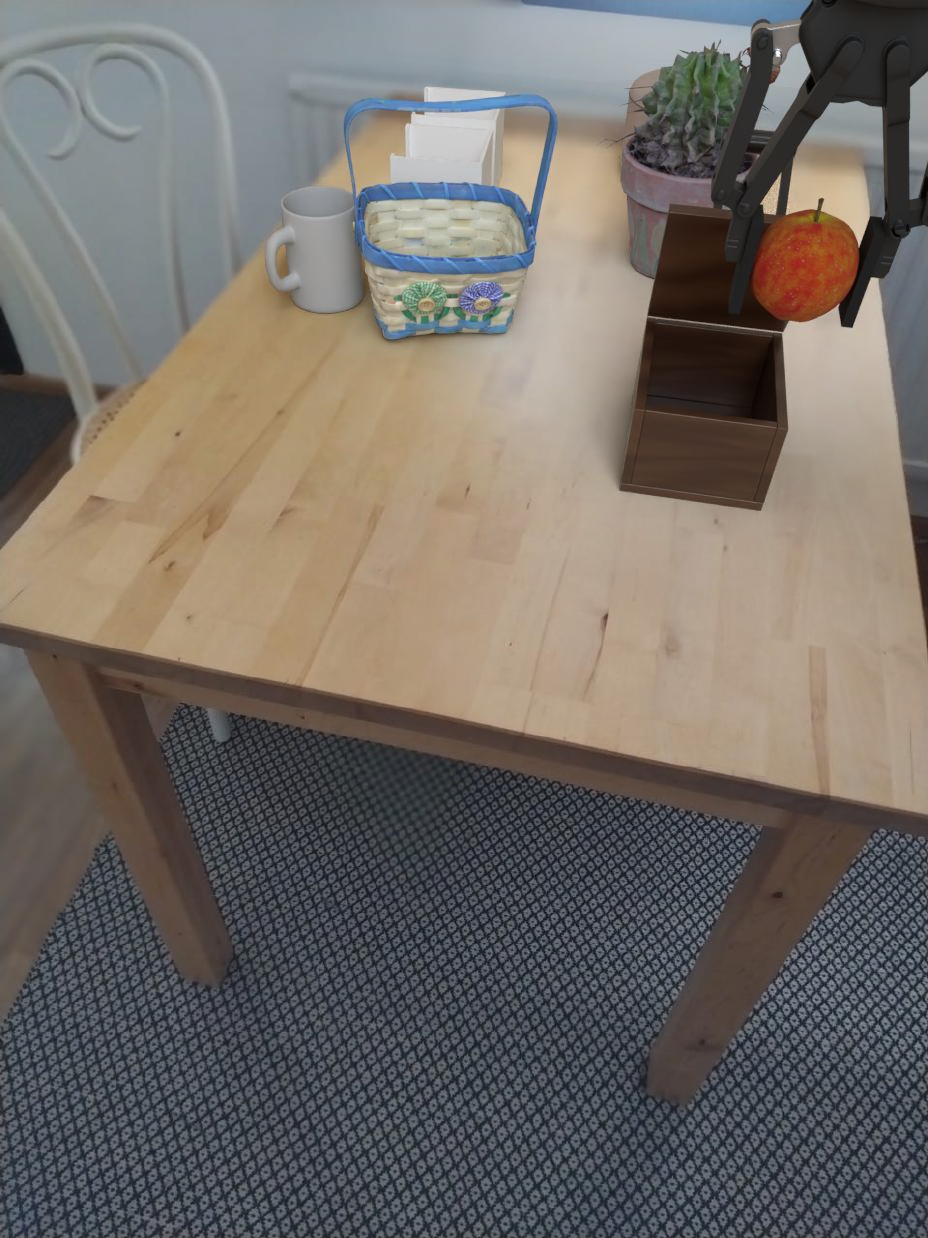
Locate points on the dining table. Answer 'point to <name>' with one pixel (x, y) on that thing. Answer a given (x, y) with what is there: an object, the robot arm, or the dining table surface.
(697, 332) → the chest
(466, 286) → the basket
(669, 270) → the lid
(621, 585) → the dining table surface
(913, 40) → the robot arm
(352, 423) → the dining table surface
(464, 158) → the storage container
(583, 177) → the dining table surface
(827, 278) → the fruit
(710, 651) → the dining table surface
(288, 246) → the mug
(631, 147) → the potted plant
